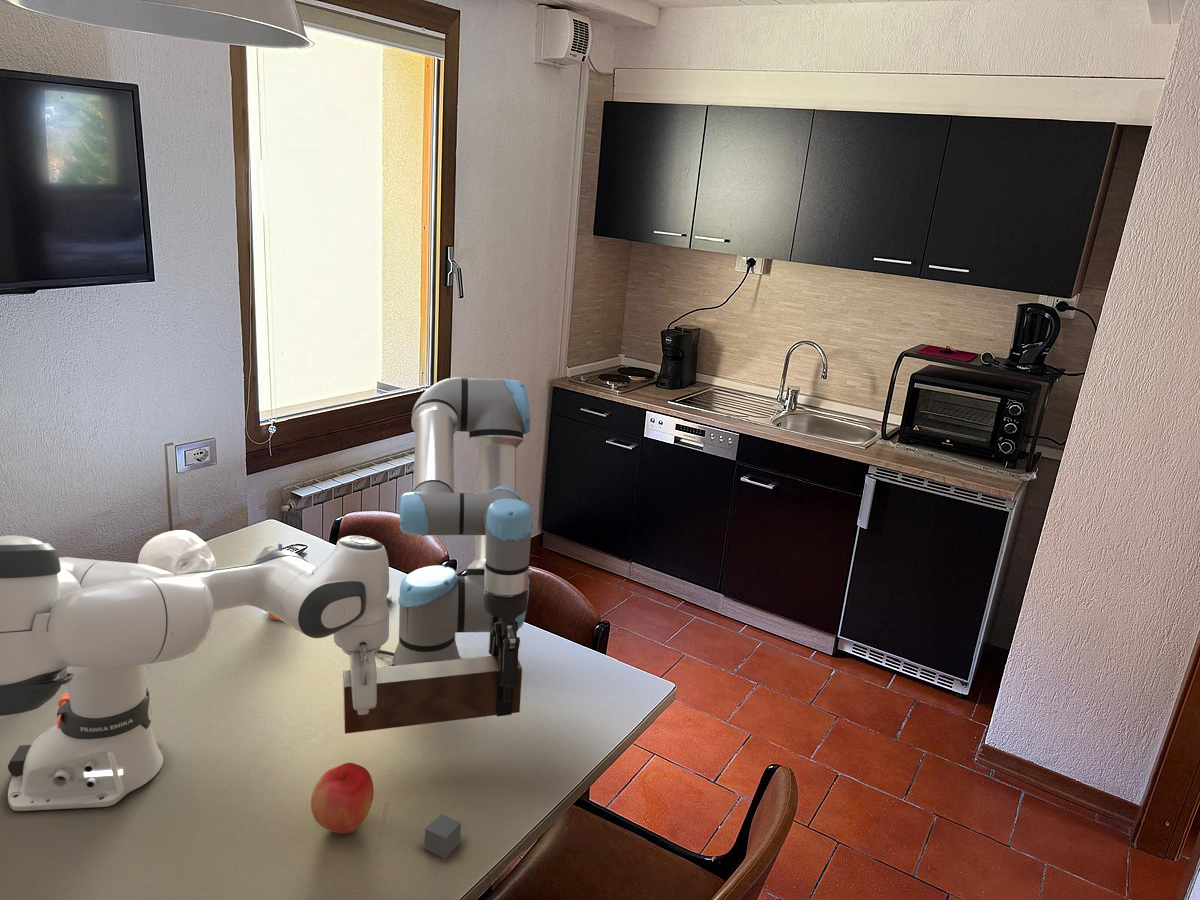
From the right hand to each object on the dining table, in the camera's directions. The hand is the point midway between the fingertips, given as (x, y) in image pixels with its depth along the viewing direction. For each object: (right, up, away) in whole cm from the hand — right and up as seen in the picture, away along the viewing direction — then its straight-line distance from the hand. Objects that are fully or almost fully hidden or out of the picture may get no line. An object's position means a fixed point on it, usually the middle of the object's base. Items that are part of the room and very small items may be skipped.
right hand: (500, 704), depth 154 cm
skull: (-83, +11, +53) cm, 99 cm away
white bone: (-63, +13, +66) cm, 92 cm away
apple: (-24, -15, -15) cm, 32 cm away
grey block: (-7, -17, -18) cm, 26 cm away
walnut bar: (-11, -1, -4) cm, 12 cm away
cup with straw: (-57, +7, +47) cm, 74 cm away
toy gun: (-40, +10, +60) cm, 73 cm away
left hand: (-23, +3, -9) cm, 24 cm away
